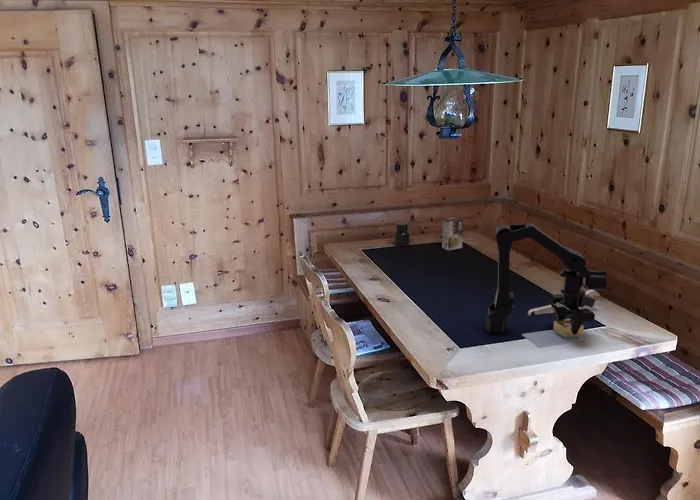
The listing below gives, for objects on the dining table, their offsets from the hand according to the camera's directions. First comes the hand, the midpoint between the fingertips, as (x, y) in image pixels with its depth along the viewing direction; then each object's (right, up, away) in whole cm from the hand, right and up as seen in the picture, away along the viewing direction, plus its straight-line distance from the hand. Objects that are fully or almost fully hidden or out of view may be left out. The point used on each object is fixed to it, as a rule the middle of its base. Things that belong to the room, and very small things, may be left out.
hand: (568, 330), depth 199 cm
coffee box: (-22, +29, +107) cm, 113 cm away
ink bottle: (-48, +31, +116) cm, 129 cm away
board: (-6, -3, -1) cm, 7 cm away
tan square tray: (0, 0, 0) cm, 0 cm away
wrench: (+6, +3, +22) cm, 23 cm away
